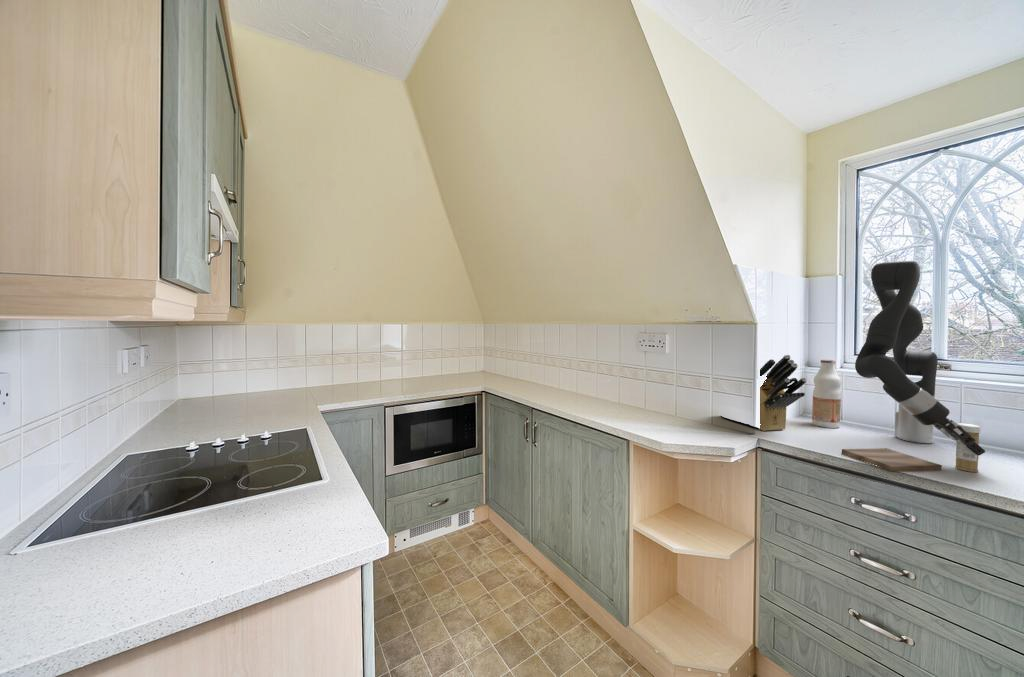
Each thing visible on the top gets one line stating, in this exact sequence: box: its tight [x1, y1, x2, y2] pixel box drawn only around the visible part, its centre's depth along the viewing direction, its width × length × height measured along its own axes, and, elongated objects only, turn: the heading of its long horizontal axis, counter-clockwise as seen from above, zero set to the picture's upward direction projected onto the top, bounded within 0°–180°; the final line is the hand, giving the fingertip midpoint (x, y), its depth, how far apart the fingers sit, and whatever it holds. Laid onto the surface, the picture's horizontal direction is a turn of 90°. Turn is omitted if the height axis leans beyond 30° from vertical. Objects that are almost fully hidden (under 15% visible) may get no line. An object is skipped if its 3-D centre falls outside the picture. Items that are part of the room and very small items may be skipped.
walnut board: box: [841, 447, 943, 472], centre depth 124 cm, size 16×16×2 cm
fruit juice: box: [811, 359, 842, 429], centre depth 168 cm, size 9×9×28 cm
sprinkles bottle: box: [954, 422, 981, 473], centre depth 117 cm, size 5×5×14 cm
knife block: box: [759, 354, 807, 432], centre depth 166 cm, size 11×35×31 cm, turn 12°
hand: (976, 450), depth 116 cm, fingers open, 4 cm apart
